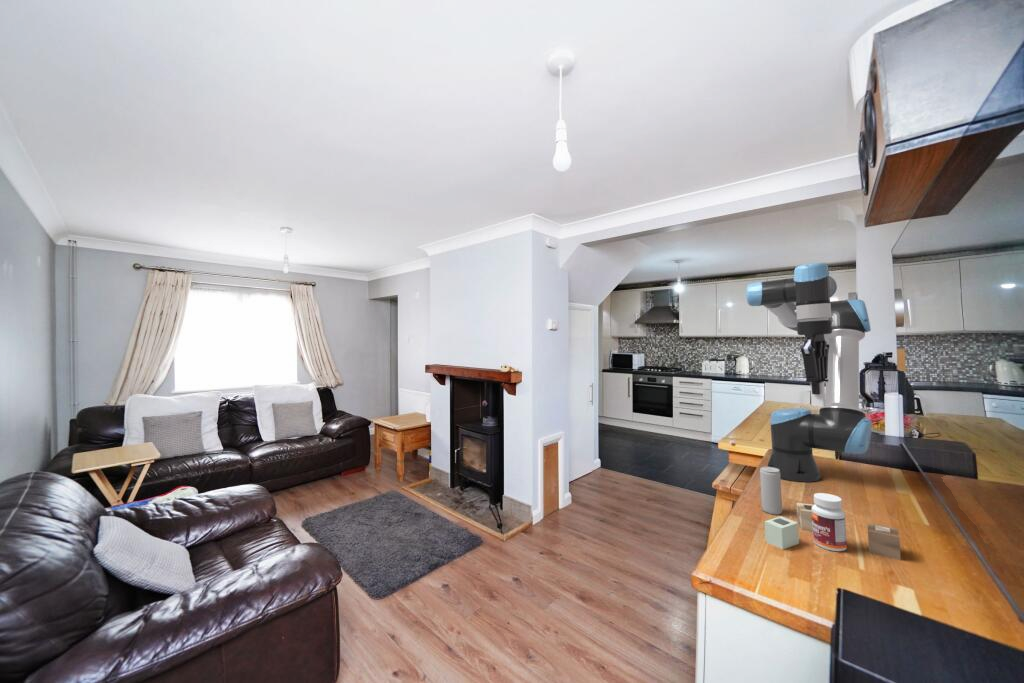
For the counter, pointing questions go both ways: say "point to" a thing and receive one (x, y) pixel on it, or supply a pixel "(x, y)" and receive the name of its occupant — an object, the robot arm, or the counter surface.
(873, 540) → the walnut block
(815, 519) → the pill bottle
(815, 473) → the robot arm
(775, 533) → the sage block
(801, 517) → the beech block
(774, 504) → the beverage can
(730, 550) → the counter surface
